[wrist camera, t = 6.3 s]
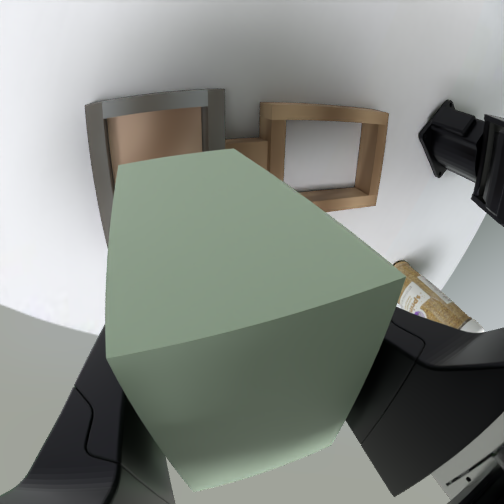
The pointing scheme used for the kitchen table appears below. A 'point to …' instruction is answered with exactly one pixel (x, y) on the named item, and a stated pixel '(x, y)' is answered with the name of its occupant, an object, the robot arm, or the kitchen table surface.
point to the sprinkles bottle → (432, 302)
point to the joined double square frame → (220, 140)
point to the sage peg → (237, 314)
